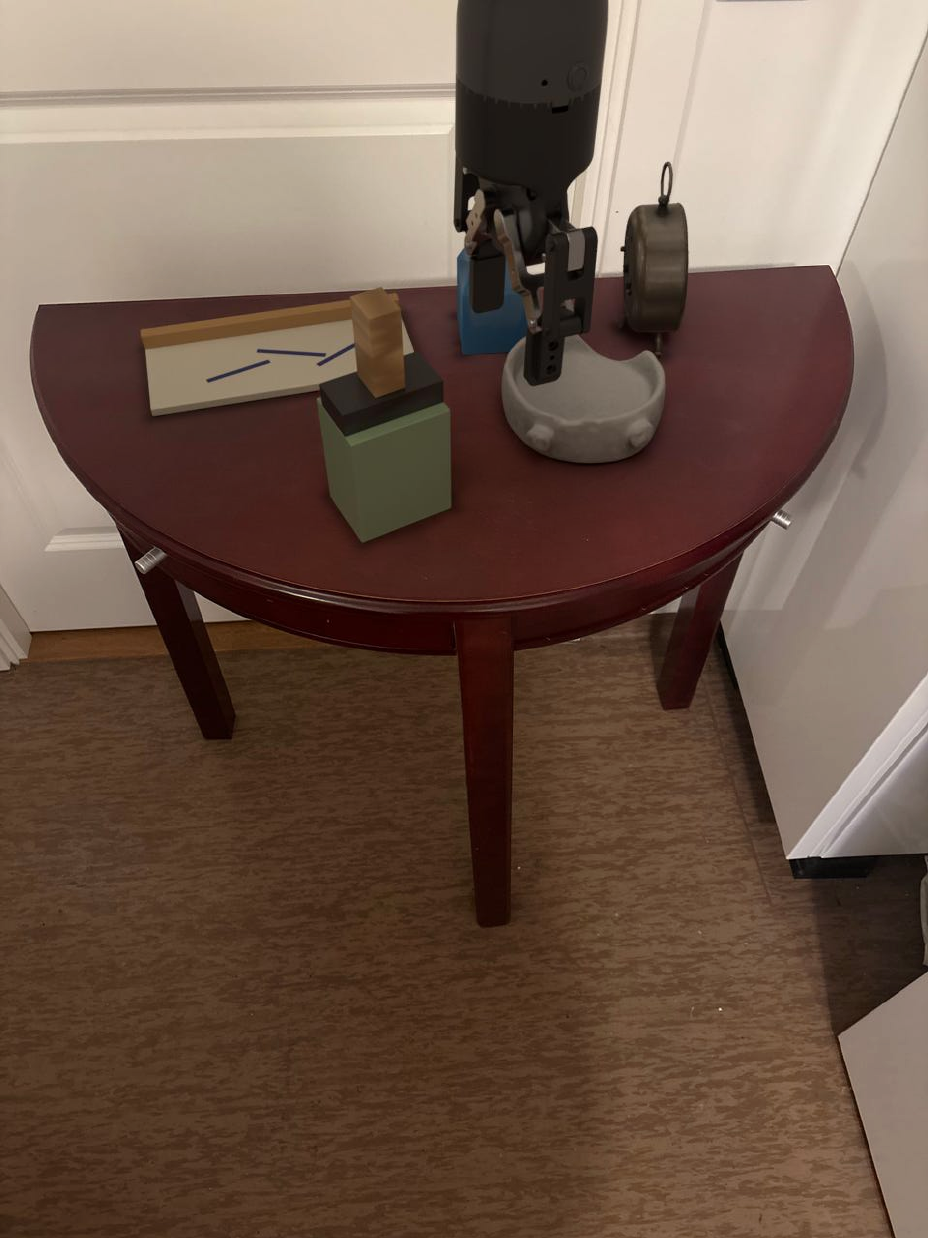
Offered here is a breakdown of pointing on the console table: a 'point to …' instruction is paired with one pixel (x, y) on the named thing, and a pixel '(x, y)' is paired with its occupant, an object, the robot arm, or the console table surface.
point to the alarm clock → (656, 266)
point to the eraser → (379, 371)
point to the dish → (585, 404)
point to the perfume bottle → (488, 317)
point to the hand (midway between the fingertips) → (512, 343)
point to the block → (389, 470)
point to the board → (250, 356)
